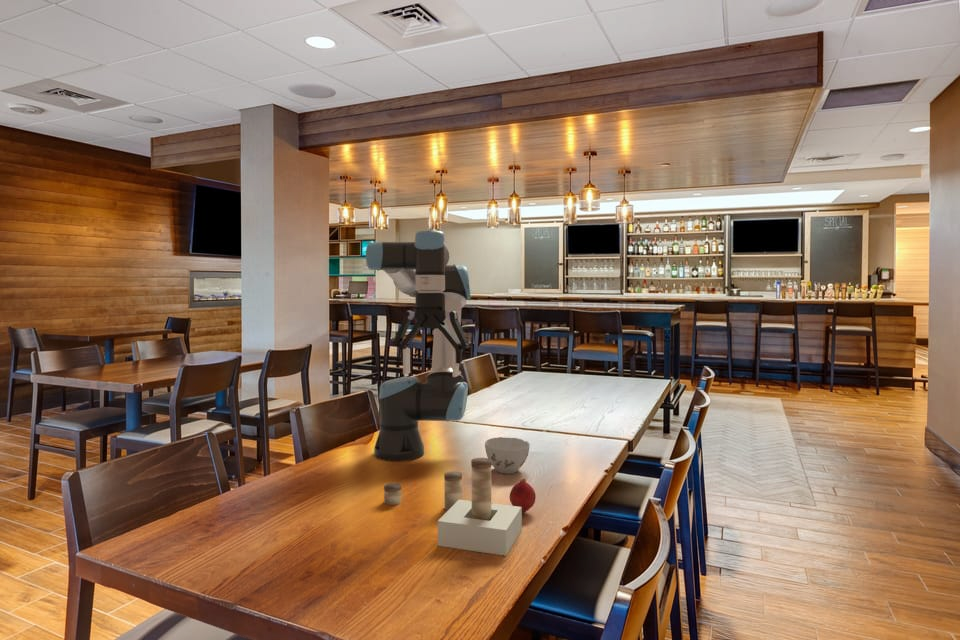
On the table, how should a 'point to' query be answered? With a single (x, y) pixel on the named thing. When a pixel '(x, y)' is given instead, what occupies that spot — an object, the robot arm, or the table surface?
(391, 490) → the short dowel
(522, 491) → the onion
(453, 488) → the medium dowel
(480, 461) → the long dowel
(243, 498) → the table surface
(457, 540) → the hole block
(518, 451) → the teacup
